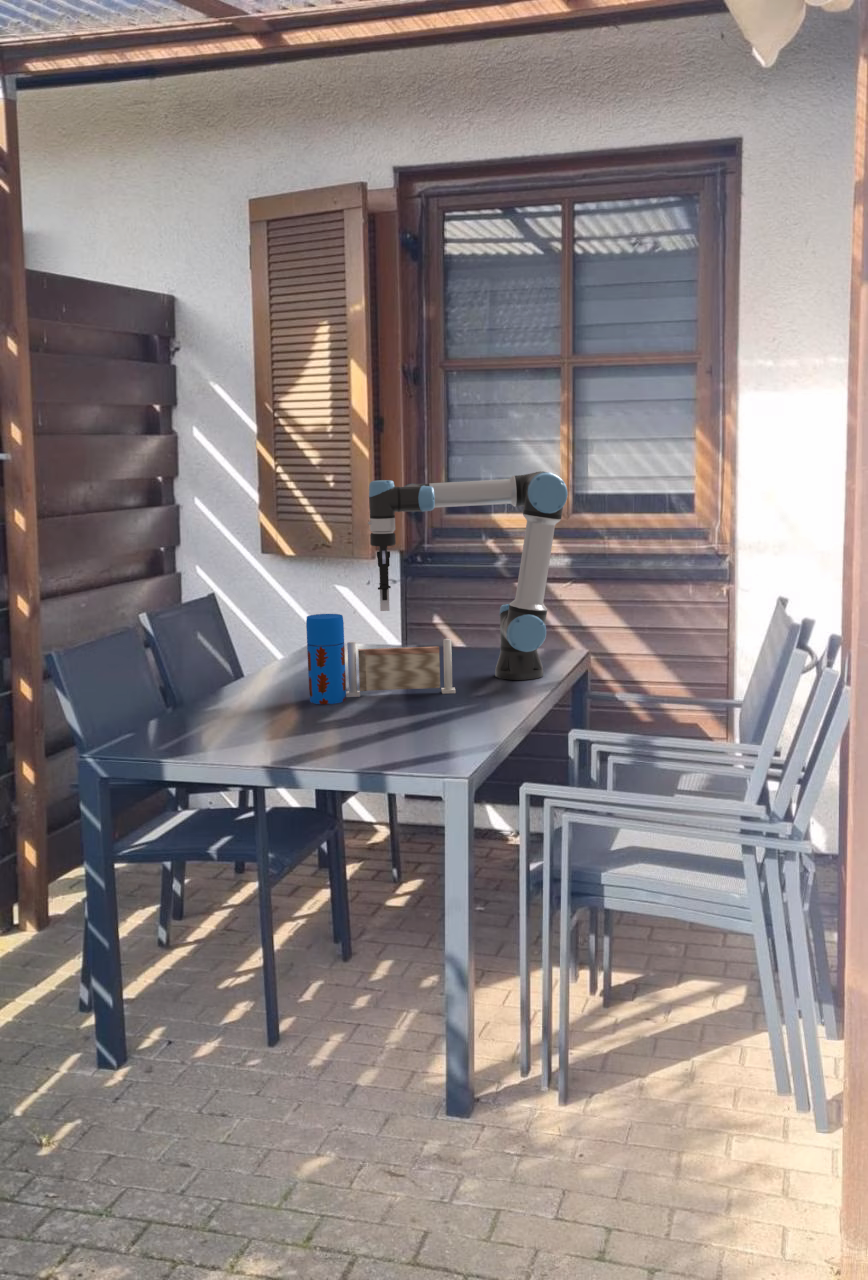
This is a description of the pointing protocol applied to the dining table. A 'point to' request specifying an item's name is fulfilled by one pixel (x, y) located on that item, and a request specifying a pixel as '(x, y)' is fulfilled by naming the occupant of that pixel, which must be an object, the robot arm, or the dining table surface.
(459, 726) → the dining table surface
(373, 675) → the gate
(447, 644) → the gate posts
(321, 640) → the thermos
